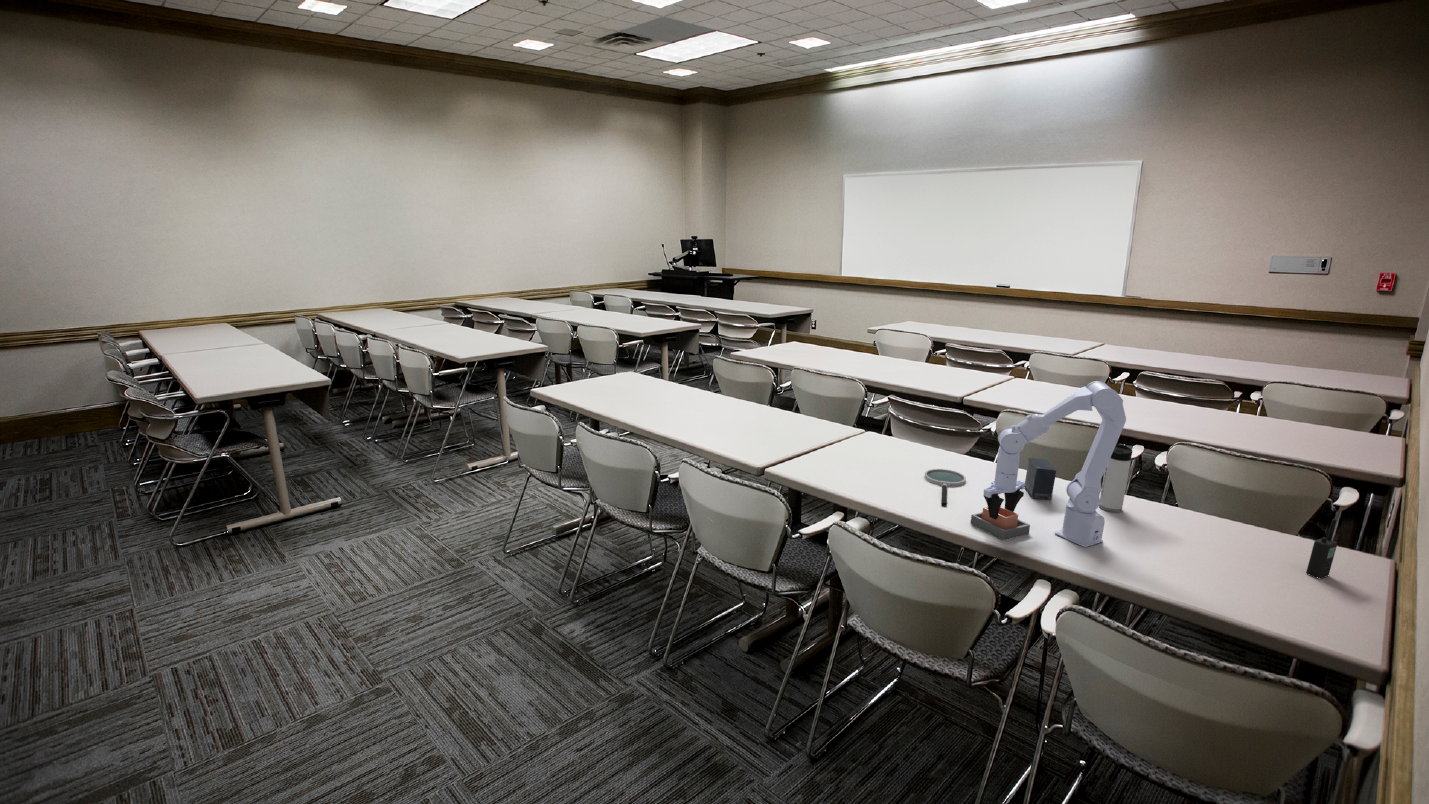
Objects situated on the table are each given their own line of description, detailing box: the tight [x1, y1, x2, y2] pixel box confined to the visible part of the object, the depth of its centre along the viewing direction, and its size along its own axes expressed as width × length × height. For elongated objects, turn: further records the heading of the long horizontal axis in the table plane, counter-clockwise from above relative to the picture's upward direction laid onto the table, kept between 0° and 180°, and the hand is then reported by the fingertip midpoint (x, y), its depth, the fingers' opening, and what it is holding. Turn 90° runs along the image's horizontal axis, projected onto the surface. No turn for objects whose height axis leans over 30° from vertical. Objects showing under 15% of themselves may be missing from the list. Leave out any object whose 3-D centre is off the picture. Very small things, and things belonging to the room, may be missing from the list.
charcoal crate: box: [970, 511, 1031, 541], centre depth 193 cm, size 12×10×3 cm
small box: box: [1024, 457, 1057, 501], centre depth 218 cm, size 11×6×10 cm, turn 168°
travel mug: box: [1098, 443, 1133, 513], centre depth 205 cm, size 6×7×20 cm
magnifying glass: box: [924, 468, 967, 507], centre depth 222 cm, size 13×31×2 cm, turn 161°
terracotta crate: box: [982, 505, 1019, 530], centre depth 193 cm, size 8×5×5 cm, turn 29°
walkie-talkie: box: [1305, 518, 1338, 579], centre depth 168 cm, size 5×3×15 cm
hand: (1000, 515), depth 192 cm, fingers open, 6 cm apart
